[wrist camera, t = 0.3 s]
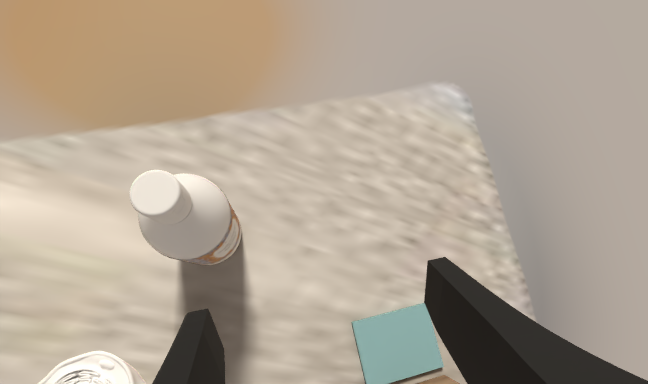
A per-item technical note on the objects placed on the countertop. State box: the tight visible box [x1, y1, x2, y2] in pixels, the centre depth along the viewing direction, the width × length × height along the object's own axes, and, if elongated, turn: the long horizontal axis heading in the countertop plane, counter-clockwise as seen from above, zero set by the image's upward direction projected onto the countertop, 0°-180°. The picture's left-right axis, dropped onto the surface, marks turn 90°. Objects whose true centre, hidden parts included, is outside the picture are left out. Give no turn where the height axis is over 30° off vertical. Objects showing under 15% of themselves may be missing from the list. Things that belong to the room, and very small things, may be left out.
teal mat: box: [352, 303, 444, 384], centre depth 40 cm, size 7×9×1 cm
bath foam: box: [129, 170, 241, 265], centre depth 31 cm, size 7×7×20 cm
